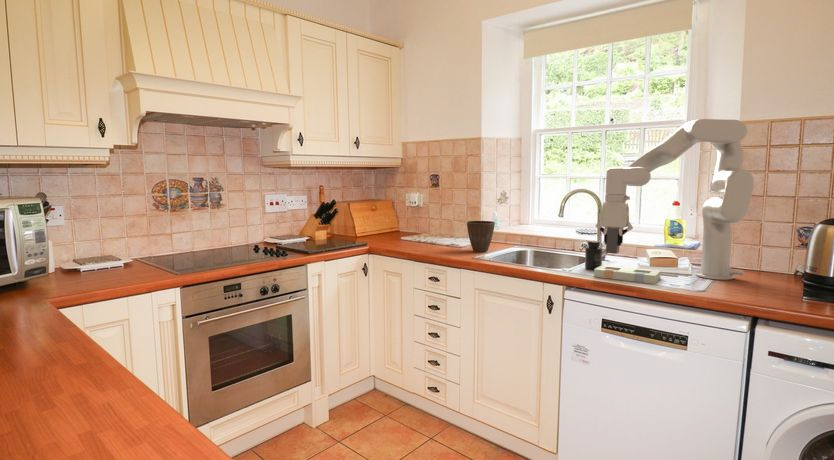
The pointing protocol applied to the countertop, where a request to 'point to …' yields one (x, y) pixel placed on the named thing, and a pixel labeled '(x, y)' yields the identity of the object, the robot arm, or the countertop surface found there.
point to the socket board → (627, 273)
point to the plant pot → (480, 234)
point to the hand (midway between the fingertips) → (613, 244)
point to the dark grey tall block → (612, 240)
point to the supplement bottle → (593, 255)
